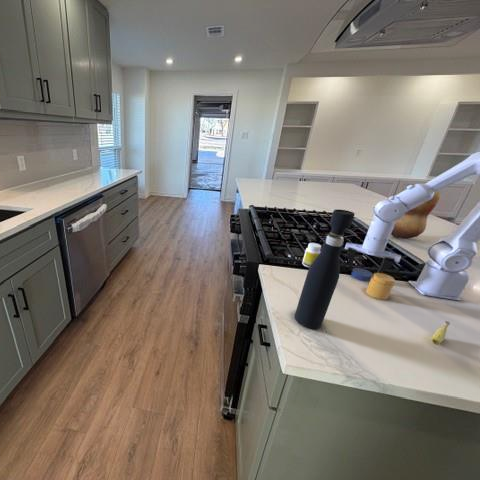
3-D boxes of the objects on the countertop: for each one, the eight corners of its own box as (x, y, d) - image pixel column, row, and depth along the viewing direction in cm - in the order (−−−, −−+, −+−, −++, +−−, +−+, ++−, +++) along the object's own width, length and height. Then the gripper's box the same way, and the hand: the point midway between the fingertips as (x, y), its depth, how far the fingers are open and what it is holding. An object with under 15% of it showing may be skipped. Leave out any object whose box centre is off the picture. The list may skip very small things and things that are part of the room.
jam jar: (381, 290, 81) (389, 273, 78) (391, 301, 76) (400, 282, 73) (362, 288, 82) (369, 271, 79) (371, 298, 77) (379, 280, 74)
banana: (436, 331, 64) (443, 319, 63) (445, 336, 63) (453, 323, 61) (426, 345, 60) (434, 332, 58) (436, 350, 59) (445, 336, 57)
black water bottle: (289, 312, 69) (320, 207, 57) (311, 312, 70) (346, 207, 58) (303, 329, 64) (341, 216, 52) (327, 328, 64) (370, 216, 52)
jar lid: (364, 282, 85) (366, 278, 84) (346, 273, 90) (348, 269, 89) (376, 279, 87) (377, 275, 86) (358, 270, 92) (359, 266, 91)
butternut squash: (411, 245, 115) (437, 191, 105) (377, 235, 126) (397, 184, 115) (423, 240, 121) (449, 188, 111) (390, 230, 132) (410, 182, 122)
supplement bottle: (318, 269, 92) (324, 248, 89) (304, 267, 93) (310, 246, 90) (313, 262, 97) (319, 243, 93) (300, 261, 97) (305, 241, 94)
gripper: (349, 234, 84) (336, 270, 89) (407, 247, 75) (389, 286, 81) (351, 229, 89) (339, 263, 94) (406, 240, 80) (390, 277, 86)
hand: (362, 273), depth 88 cm, fingers open, 7 cm apart
